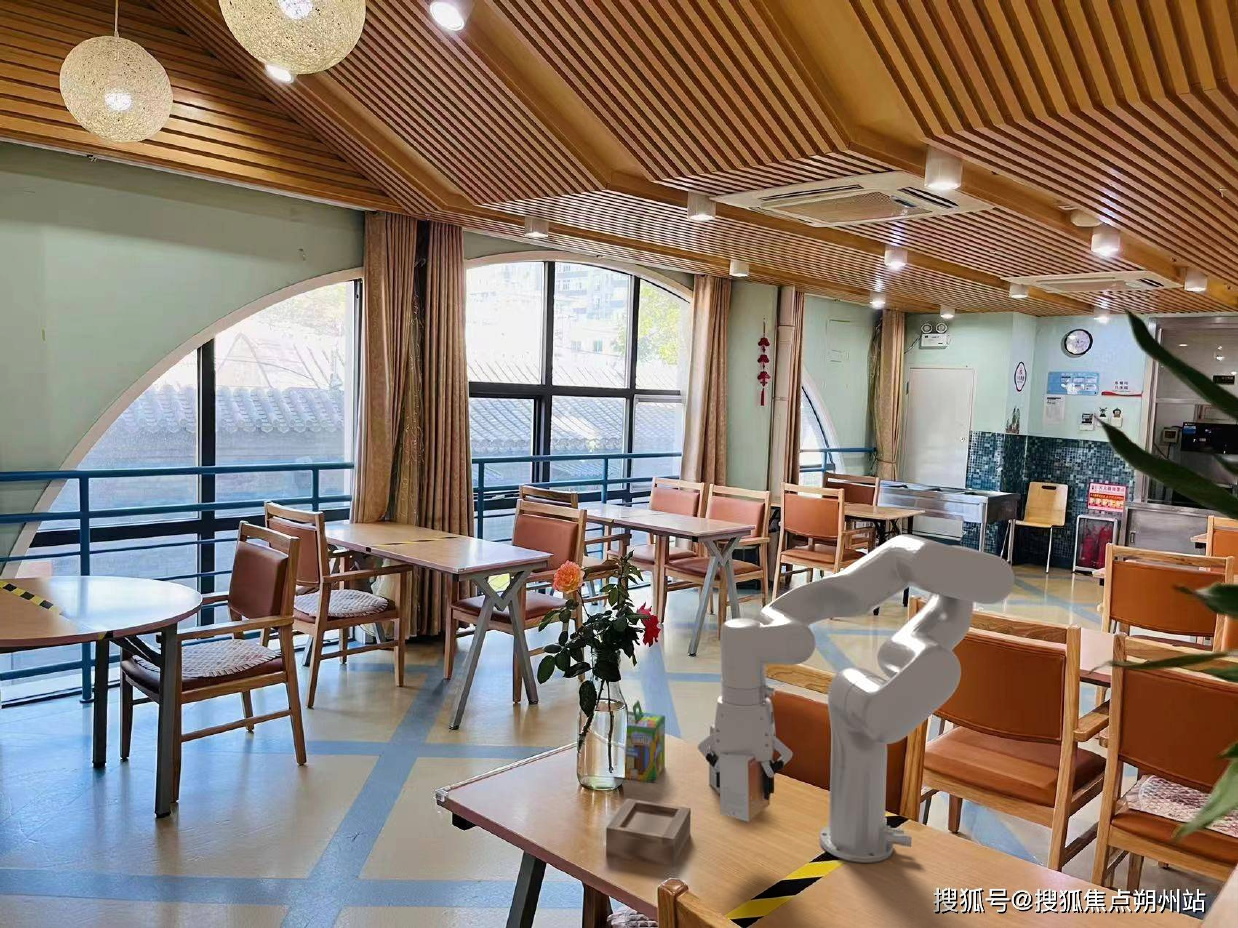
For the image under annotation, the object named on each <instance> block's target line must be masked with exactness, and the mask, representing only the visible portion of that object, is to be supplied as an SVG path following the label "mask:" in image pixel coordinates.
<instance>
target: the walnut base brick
mask: <svg viewBox="0 0 1238 928" xmlns="http://www.w3.org/2000/svg"><path fill="white" fill-rule="evenodd" d="M691 813H692V812H691V807H684V806H678V805H672V804H666V803H658V802H653V801H646V800H639V799H633V798H627V799H626V800H625V802H624V803H623V804H622V806H621V807H619V810H618V811H617V812H616V813H615V815H614V816H613V818H612V819H611V820H610V822H609V823H608V824H607V826H606V827H605V830H606V832H605V833H606V834H605V836H606V837H605V839H606V840H605V841H606V842H605V850H606V851H605V855H606V856H610V857H617V858H621V859H622V858H623V859H627V860H633V861H638V862H645V863H648V864H655V865H661V866H666V867H675V864H676V863H677V860H678V859H679V857H680V855H681V854H682V851H683V849H684V848H685V845H686V844H687V841H688V840H689V837H690V836H691V816H692V815H691Z"/></svg>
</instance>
